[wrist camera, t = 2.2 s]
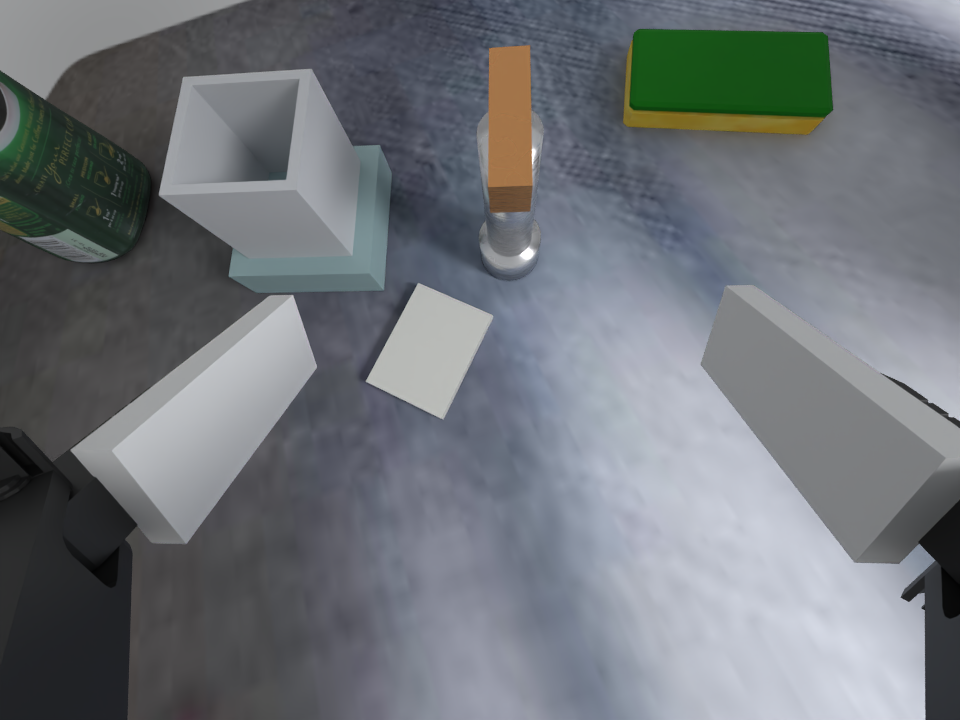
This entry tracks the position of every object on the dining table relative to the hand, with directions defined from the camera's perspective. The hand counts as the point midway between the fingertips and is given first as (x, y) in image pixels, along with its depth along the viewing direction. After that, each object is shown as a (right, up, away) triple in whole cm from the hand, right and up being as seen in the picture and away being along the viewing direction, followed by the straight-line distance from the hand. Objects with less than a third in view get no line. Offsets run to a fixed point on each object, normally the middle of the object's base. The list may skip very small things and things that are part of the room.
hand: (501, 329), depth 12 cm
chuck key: (+2, +7, +16) cm, 18 cm away
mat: (-4, 0, +15) cm, 16 cm away
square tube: (-13, +9, +18) cm, 24 cm away
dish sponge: (+18, +20, +18) cm, 33 cm away
